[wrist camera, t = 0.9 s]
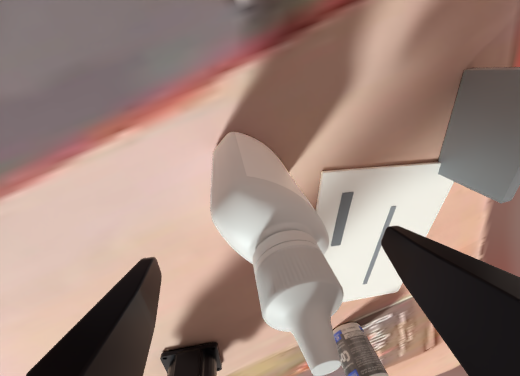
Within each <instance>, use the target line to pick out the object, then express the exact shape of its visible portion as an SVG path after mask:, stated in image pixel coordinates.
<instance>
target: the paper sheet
mask: <svg viewBox="0 0 520 376" xmlns="http://www.w3.org/2000/svg"><path fill="white" fill-rule="evenodd" d="M440 165H441V163H439V162H431V163H418V164H406V165H393V166H381V167H368V168H356V169H343V170H331V171H322V172H321V179H320V185H319V191H318V198H317V204H316V210H315V211H316V212H317V214H318V215H319V217H320V218H321V220H322V222H323V223H324V225H325V227H326V230H327V233H328V236H329V247H328V249H327V251H326V252H325V254H324V257H325V258H326V260H327V262H328V264H329V265H330V267H331V269H332V270H333V272H334V274H335V276H336V277H337V279H338V281H339V283H340V284H341V286H342V288H343V292H344V294H343V295H344V296H343V300H342V302H347V301H352V300H357V299H363V298H368V297H374V296H379V295H385V294H390V293H395V292H398V290H399V288H400V286H401V285H402V283H403V282H402V280H401V278H400V277H399V275H398V274H397V272H396V270H395V268H394V267H393V265H392V263H391V262H390V260H389V258H388V256H387V255H386V253H385V251H384V250H383V248H382V245H381V240H382V238H383V235H384V232H385V230H386V228H387V227H389V226H400V227H403V228H405V229H407V230H410V231H412V232H414V233H417V234H419V235H421V236H424V237H426V236H427V234H428V232H429V230H430V228H431V226H432V224H433V222H434V220H435V218H436V216H437V214H438V212H439V210H440V208H441V206H442V204H443V202H444V200H445V198H446V197H447V195H448V193H449V191H450V189H451V187H452V185H453V183H454V181H452V180H450V179H448V178H446V177H443V176H441V175H439V174H438V172H439V168H440Z"/></svg>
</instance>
